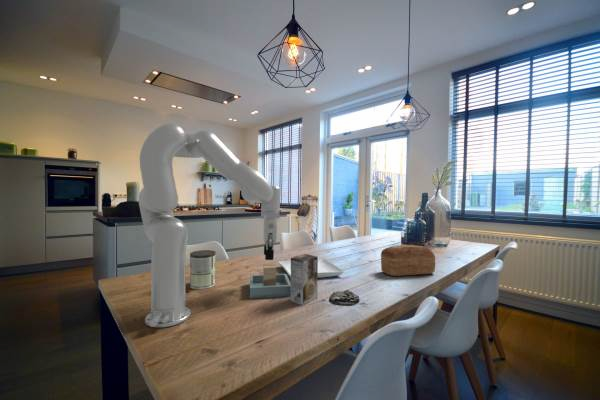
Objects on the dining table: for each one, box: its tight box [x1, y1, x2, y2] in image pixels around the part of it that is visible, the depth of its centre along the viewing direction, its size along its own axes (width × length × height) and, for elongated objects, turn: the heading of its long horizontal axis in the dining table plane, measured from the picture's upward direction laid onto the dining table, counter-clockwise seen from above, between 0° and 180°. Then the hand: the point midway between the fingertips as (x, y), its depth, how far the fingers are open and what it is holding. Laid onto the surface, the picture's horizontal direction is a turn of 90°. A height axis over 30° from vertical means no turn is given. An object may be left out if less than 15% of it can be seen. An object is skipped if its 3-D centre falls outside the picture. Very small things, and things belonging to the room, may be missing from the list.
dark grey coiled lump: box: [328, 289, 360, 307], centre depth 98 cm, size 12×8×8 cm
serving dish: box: [249, 273, 291, 299], centre depth 107 cm, size 16×16×4 cm
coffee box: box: [289, 253, 319, 306], centre depth 97 cm, size 9×6×16 cm
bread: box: [380, 244, 436, 277], centre depth 134 cm, size 12×28×14 cm, turn 104°
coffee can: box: [189, 249, 216, 290], centre depth 111 cm, size 10×10×14 cm
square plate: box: [277, 258, 345, 279], centre depth 134 cm, size 27×27×4 cm
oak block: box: [262, 263, 277, 286], centre depth 107 cm, size 5×5×9 cm
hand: (268, 257), depth 106 cm, fingers open, 9 cm apart
